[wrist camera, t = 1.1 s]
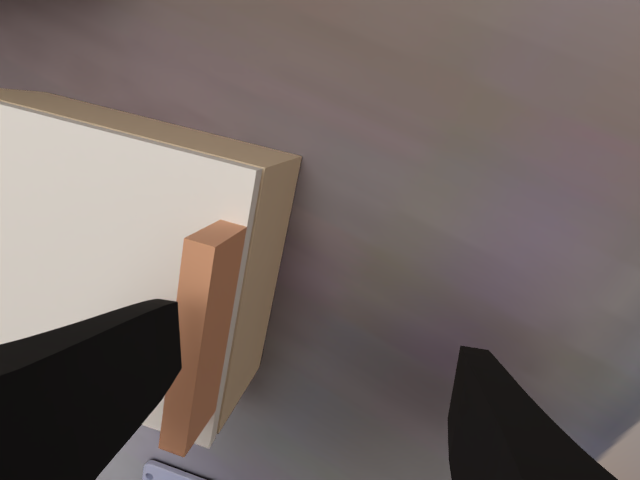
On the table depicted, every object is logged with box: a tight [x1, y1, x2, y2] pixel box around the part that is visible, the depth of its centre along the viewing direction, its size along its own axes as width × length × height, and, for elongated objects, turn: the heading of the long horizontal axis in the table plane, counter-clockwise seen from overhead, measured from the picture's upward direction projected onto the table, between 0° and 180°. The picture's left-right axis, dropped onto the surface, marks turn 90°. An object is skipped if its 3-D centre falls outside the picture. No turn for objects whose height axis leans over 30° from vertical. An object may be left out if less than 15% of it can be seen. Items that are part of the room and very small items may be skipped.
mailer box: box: [0, 88, 302, 434], centre depth 20 cm, size 12×14×5 cm
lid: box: [0, 101, 262, 457], centre depth 16 cm, size 12×14×3 cm
